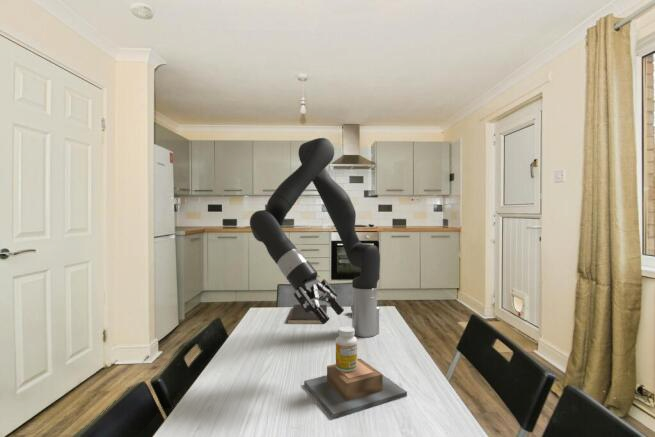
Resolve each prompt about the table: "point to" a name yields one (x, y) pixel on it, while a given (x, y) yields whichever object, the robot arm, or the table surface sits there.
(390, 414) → the table surface
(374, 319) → the robot arm
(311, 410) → the table surface
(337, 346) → the supplement bottle
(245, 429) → the table surface
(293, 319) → the hardcover book
